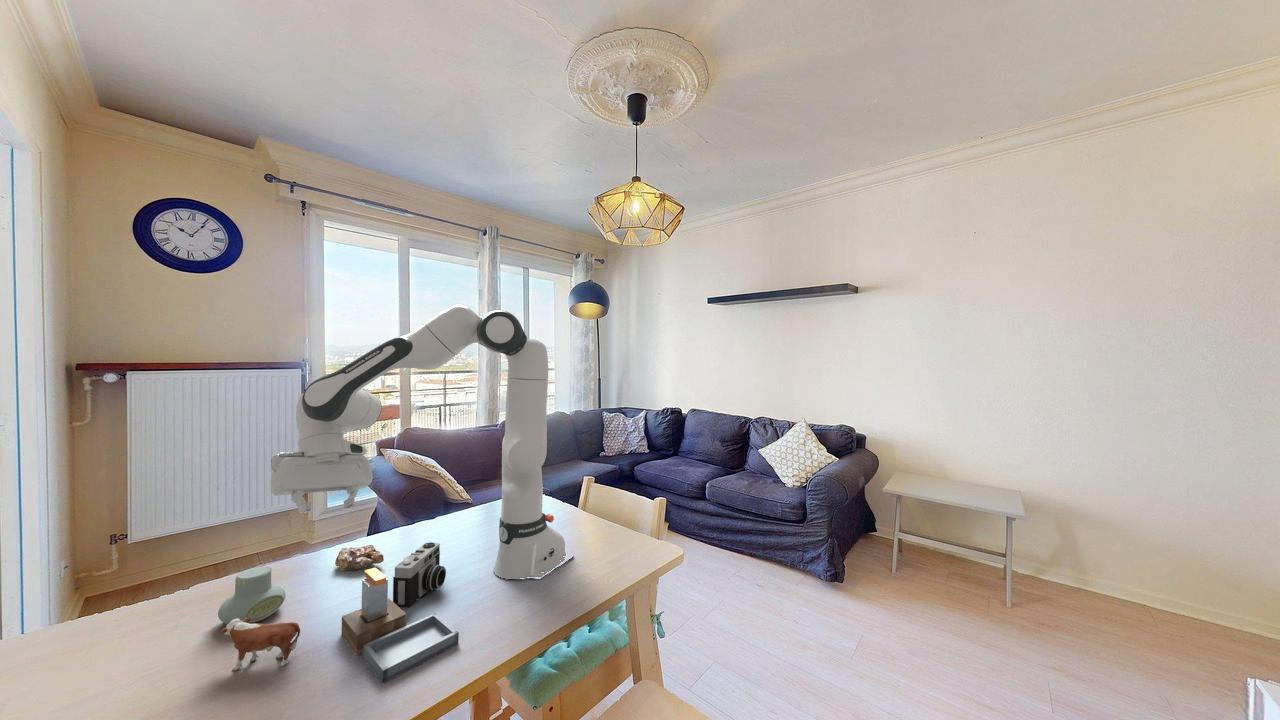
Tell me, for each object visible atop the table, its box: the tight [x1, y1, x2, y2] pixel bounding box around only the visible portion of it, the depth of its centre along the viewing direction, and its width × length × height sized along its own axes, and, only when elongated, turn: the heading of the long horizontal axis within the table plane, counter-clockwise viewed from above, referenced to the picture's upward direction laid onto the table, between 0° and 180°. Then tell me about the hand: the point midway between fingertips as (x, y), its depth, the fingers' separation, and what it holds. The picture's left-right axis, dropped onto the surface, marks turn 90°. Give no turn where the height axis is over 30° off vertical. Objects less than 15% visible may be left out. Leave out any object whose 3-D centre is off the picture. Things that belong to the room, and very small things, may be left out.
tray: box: [361, 612, 460, 685], centre depth 84 cm, size 14×10×2 cm
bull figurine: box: [220, 618, 301, 672], centre depth 79 cm, size 4×13×8 cm, turn 95°
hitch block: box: [340, 597, 407, 656], centre depth 88 cm, size 9×9×4 cm
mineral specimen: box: [335, 544, 384, 572], centre depth 116 cm, size 12×8×7 cm
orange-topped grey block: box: [361, 567, 389, 624], centre depth 88 cm, size 4×6×13 cm, turn 51°
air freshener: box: [217, 565, 286, 625], centre depth 93 cm, size 11×8×10 cm
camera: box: [392, 541, 447, 609], centre depth 104 cm, size 14×9×10 cm, turn 170°
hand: (328, 509), depth 96 cm, fingers open, 8 cm apart
